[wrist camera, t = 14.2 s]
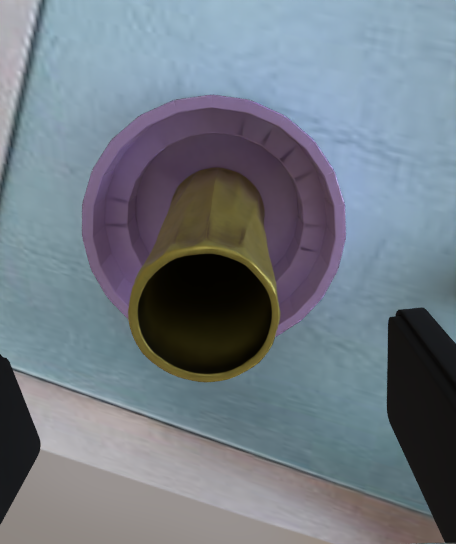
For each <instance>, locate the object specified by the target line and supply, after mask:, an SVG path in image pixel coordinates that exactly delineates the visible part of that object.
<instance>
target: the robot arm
mask: <svg viewBox="0 0 456 544" xmlns="http://www.w3.org/2000/svg"><path fill="white" fill-rule="evenodd" d="M387 413H388V418H389V422H390V424H391V426H392V429H393V431H394V433H395V435H396V437H397V439H398V442H399V444H400V446H401V448H402V450H403V452H404V455H405V457H406V459H407V461H408V463H409V465H410V468H411V470H412V472H413V474H414V476H415V478H416V481H417V483H418V485H419V487H420V489H421V491H422V494H423V496H424V498H425V500H426V502H427V504H428V507H429V509H430V511H431V513H432V515H433V517H434V520H435V522H436V524H437V526H438V528H439V530H440V533H441V535H442V537H443V539H444V541H445V543H420V544H456V344H455V342H454V341H453V340H452V339H451V338H450V337H449V336H448V334H447V333H446V332H445V331H444V330H443V329H442V327H441V326H440V325H439V324H438V323H437V322H436V321H435V319H434V318H433V317H432V316H431V315H430V314H429V312H428V311H427V310H426V309H425V308H412V309H403V310H398V311H397V312H396V316H395V317H390V318H389V320H388V369H387ZM39 451H40V439H39V436H38V433H37V431H36V428H35V426H34V423H33V421H32V418H31V415H30V413H29V410H28V408H27V405H26V403H25V400H24V398H23V395H22V393H21V390H20V387H19V385H18V382H17V380H16V377H15V375H14V372H13V370H12V367H11V365H10V362H9V360H8V359H7V358H4V357H2V356H1V355H0V524H1V523H2V521H3V519H4V517H5V515H6V513H7V511H8V510H9V508H10V506H11V504H12V502H13V500H14V499H15V497H16V495H17V493H18V491H19V489H20V488H21V486H22V484H23V482H24V480H25V478H26V477H27V475H28V473H29V471H30V469H31V467H32V466H33V464H34V462H35V460H36V458H37V456H38V454H39Z"/></svg>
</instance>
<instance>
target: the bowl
mask: <svg viewBox="0 0 456 544" xmlns="http://www.w3.org/2000/svg"><path fill="white" fill-rule="evenodd" d="M216 167H220V168H224V169H228V170H232V171H235V172H237V173H240V174H242V175H243V176H245V177H246V178H247V179H248V180H249V181H251V182H252V184H253V185H254V186H255V187H256V188H257V190H258V191H259V193H260V195H261V198H262V201H263V204H264V209H265V217H264V229H265V233H266V239H267V245H268V252H269V257H270V260H271V263H272V267H273V272H274V276H275V280H276V286H277V295H278V302H279V308H280V321H279V325H278V329H277V332H276V335H275V337H277V336H278V335H280V334H281V333H283V332H284V331H286V330H287V329H289V328H290V327H292V326H294V325H295V324H297V323H298V322H300V321H301V320H302V319H303V318H304V317H305V316H306V315H307V314H308V313H309V312H310V311H311V310H312V309H313V308H314V307H315V305H316V304H317V303H318V302H319V301H320V300H321V299H322V297H323V296H324V295H325V293H326V291H327V289H328V287H329V285H330V284H331V282H332V280H333V278H334V276H335V275H336V273H337V271H338V268H339V264H340V260H341V256H342V252H343V248H344V244H345V240H346V221H345V204H344V203H345V202H344V199H343V196H342V193H341V190H340V187H339V184H338V180H337V177H336V174H335V171H334V169H333V168H332V166H331V165H330V163H329V162H328V160H327V159H326V157H325V156H324V154H323V153H322V151H321V150H320V148H319V147H318V145H317V144H316V142H315V141H314V140H313V139H312V138H311V137H310V136H309V135H308V134H306V133H305V132H304V131H303V130H302V129H301V128H299V127H298V126H297V125H296V124H295V123H293V122H292V121H291V120H290V119H289V118H288V117H286V116H284V115H283V114H281V113H278V112H276V111H274V110H272V109H269V108H267V107H265V106H263V105H261V104H258V103H256V102H254V101H250V100H247V99H240V98H233V97H226V96H219V95H205V96H198V97H191V98H184V99H177V100H172V101H170V102H168V103H166V104H164V105H162V106H159V107H157V108H155V109H153V110H151V111H148V112H146V113H144V114H142V115H140V116H138V117H137V118H136V119H135V120H134V121H132V122H131V123H130V124H129V125H128V126H127V127H126V128H124V129H123V130H122V131H121V132H120V133H119V134H117V135H116V136H115V137H114V138H113V139H112V140H111V141H110V143H109V144H108V146H107V147H106V149H105V150H104V152H103V154H102V155H101V157H100V158H99V160H98V161H97V163H96V165H95V166H94V168H93V169H92V170H93V171H92V172H91V175H90V179H89V182H88V186H87V189H86V193H85V196H84V200H83V204H82V237H83V242H84V246H85V249H86V253H87V257H88V261H89V264H90V268H91V270H92V272H93V274H94V275H95V277H96V279H97V281H98V282H99V284H100V286H101V288H102V289H103V291H104V293H105V295H106V296H107V298H108V299H109V300H110V301H111V302H112V303H113V304H114V305H115V306H116V307H117V308H118V309H119V310H120V311H121V312H122V313H123V314H124V316H125V317H126V318H127V319H128V308H129V301H130V296H131V292H132V288H133V285H134V282H135V279H136V276H137V274H138V272H139V271H140V269H141V267H142V266H143V265H144V263H145V261H146V260H147V258H148V256H149V254H150V253H151V251H152V249H153V247H154V245H155V243H156V241H157V237H158V234H159V232H160V229H161V226H162V224H163V222H164V220H165V218H166V216H167V213H168V210H169V208H170V204H171V201H172V198H173V195H174V193H175V191H176V189H177V187H178V186H179V185H180V184H181V183H182V182H183V181H184V180H185V179H186V178H187V177H189V176H190V175H192V174H193V173H195V172H197V171H199V170H203V169H208V168H216Z"/></svg>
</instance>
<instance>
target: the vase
mask: <svg viewBox="0 0 456 544" xmlns="http://www.w3.org/2000/svg"><path fill="white" fill-rule="evenodd" d="M264 217H265V209H264V204H263V201H262V198H261V195H260V193H259V191H258V190H257V188H256V187H255V186H254V185H253V184H252V182H251V181H249V180H248V179H247V178H246V177H245V176H243V175H242V174H240V173H237V172H235V171H232V170H228V169H224V168H220V167H216V168H208V169H203V170H199V171H197V172H195V173H193V174H192V175H190V176H189V177H187V178H186V179H185V180H184V181H183V182H182V183H181V184H180V185H179V186H178V187H177V189H176V191H175V193H174V195H173V198H172V201H171V204H170V208H169V210H168V213H167V216H166V218H165V220H164V222H163V224H162V226H161V229H160V232H159V234H158V237H157V241H156V243H155V245H154V247H153V249H152V251H151V253H150V254H149V256H148V258H147V260H146V261H145V263H144V265H143V266H142V267H141V269H140V271H139V272H138V274H137V276H136V279H135V282H134V285H133V288H132V292H131V296H130V301H129V308H128V319H129V325H130V329H131V332H132V335H133V337H134V340H135V342H136V344H137V345H138V347H139V349H140V350H141V352H142V353H143V354H144V355H145V356H146V357H147V358H148V359H149V360H150V361H151V362H153V363H154V364H155V365H157V366H158V367H160V368H161V369H163V370H164V371H166V372H168V373H170V374H172V375H175V376H177V377H180V378H184V379H188V380H192V381H198V382H215V381H222V380H227V379H230V378H233V377H235V376H238V375H240V374H241V373H243V372H245V371H247V370H249V369H251V368H252V367H254V366H255V365H256V364H258V363H259V362H260V361H261V360H262V359H263V358H264V357H265V355H266V354H267V353H268V351H269V350H270V348H271V346H272V344H273V342H274V339H275V335H276V332H277V329H278V325H279V321H280V308H279V302H278V295H277V286H276V280H275V276H274V272H273V267H272V263H271V260H270V257H269V252H268V245H267V239H266V233H265V229H264Z"/></svg>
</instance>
